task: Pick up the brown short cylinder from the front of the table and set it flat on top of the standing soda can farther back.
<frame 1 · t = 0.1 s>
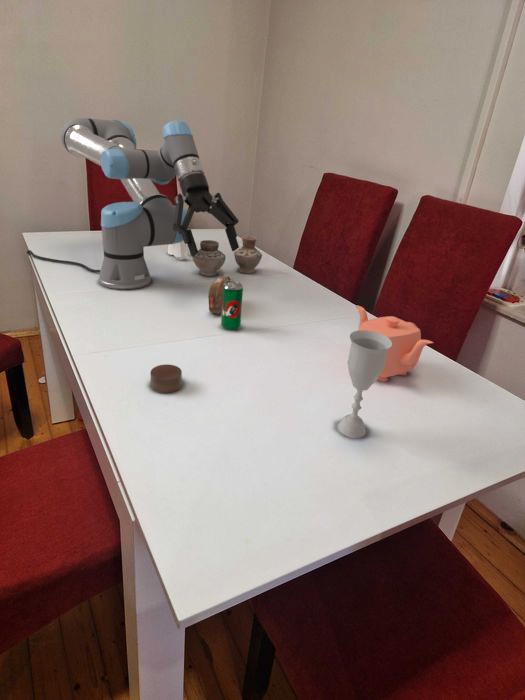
hand: (216, 252, 123), 15 cm above the table, tool tilted 35°, fingers open, 13 cm apart
bread slice: (219, 308, 128), on the table
chalice: (351, 430, 82), on the table
soda can: (230, 327, 117), on the table
brown short cylinder: (166, 384, 90), on the table
shaker set: (177, 257, 170), on the table
pottery: (227, 272, 159), on the table
teapot: (380, 369, 104), on the table
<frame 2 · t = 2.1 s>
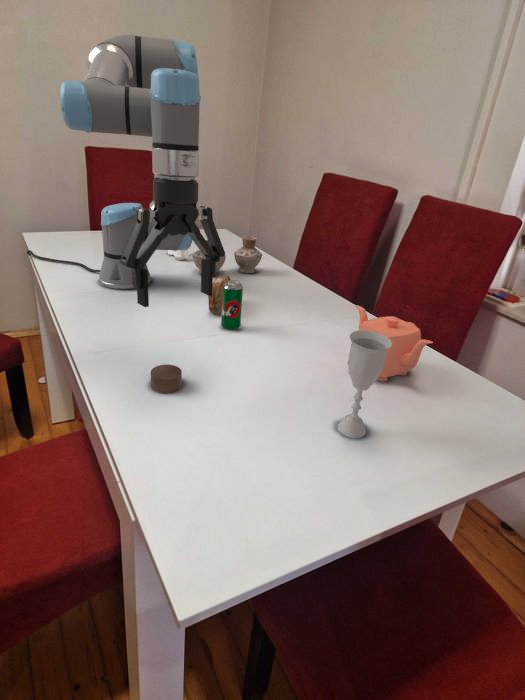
hand: (176, 299, 84), 17 cm above the table, tool pointing down, fingers open, 13 cm apart
nothing on the table moved.
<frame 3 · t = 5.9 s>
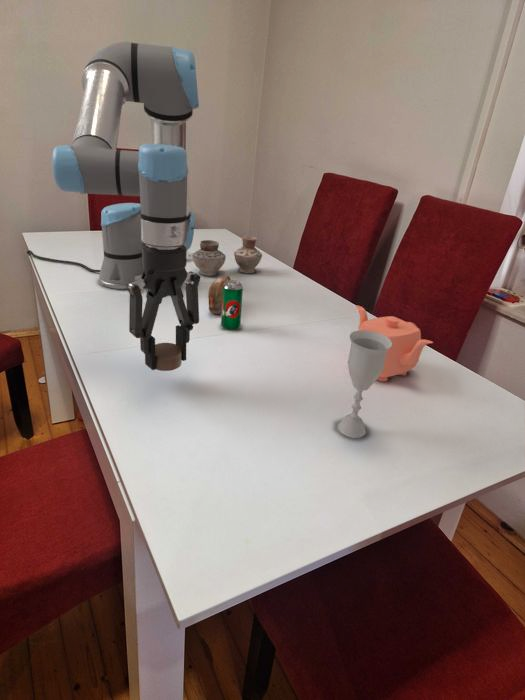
hand: (166, 361, 88), 5 cm above the table, tool pointing down, fingers closed on brown short cylinder, 6 cm apart
brown short cylinder: (165, 363, 88), point 5 cm above the table, touching gripper
everything else where it was.
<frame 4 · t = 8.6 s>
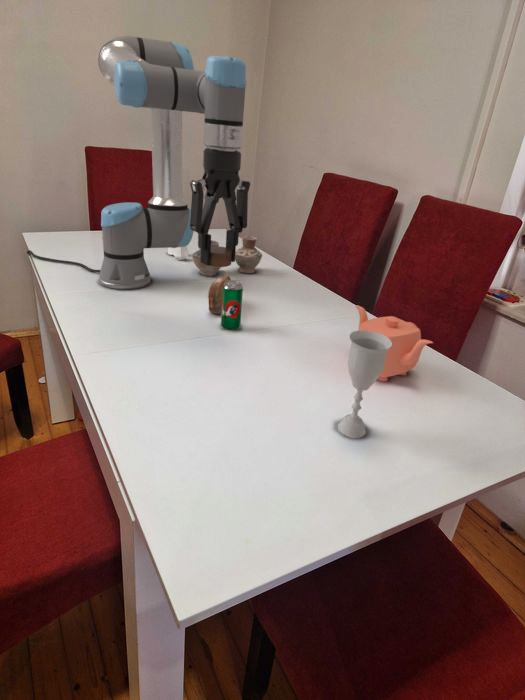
hand: (217, 261, 101), 20 cm above the table, tool pointing down, fingers closed on brown short cylinder, 6 cm apart
brown short cylinder: (217, 263, 101), point 19 cm above the table, touching gripper
everything else where it was.
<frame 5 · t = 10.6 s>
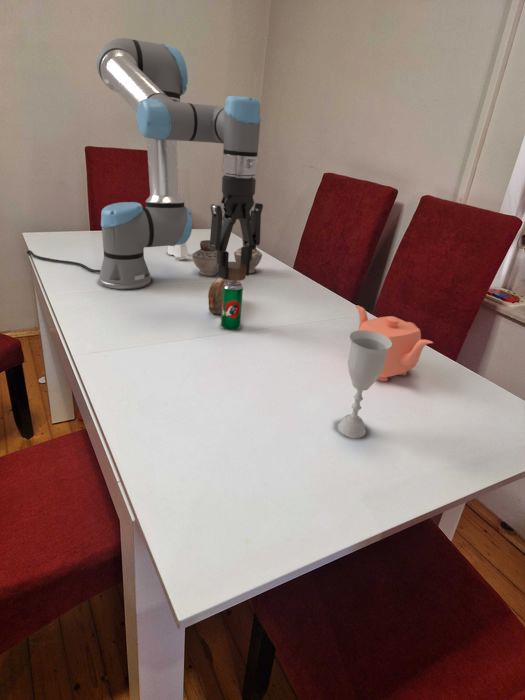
hand: (233, 275, 111), 14 cm above the table, tool pointing down, fingers closed on brown short cylinder, 6 cm apart
brown short cylinder: (233, 276, 111), point 14 cm above the table, touching gripper
everything else where it was.
when the fingers open (12 cm above the table, at t = 11.6 s): brown short cylinder stays where it is, resting on soda can.
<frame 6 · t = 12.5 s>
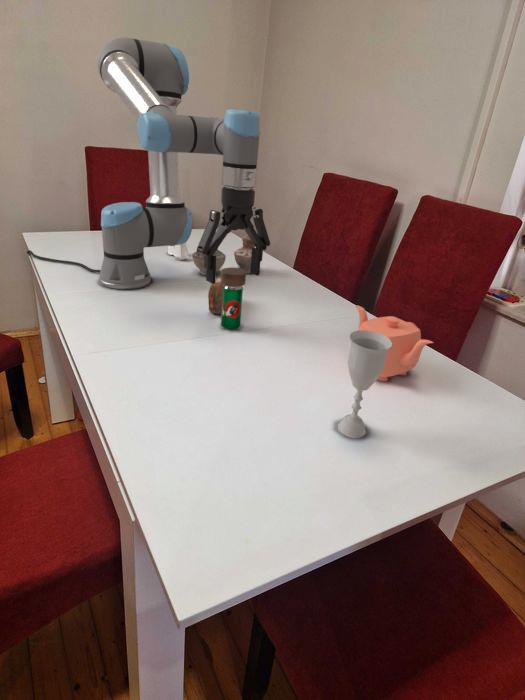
hand: (233, 278, 111), 13 cm above the table, tool pointing down, fingers open, 13 cm apart
soda can: (230, 327, 117), on the table, touching brown short cylinder
brown short cylinder: (233, 282, 112), point 12 cm above the table, touching soda can
everything else where it was.
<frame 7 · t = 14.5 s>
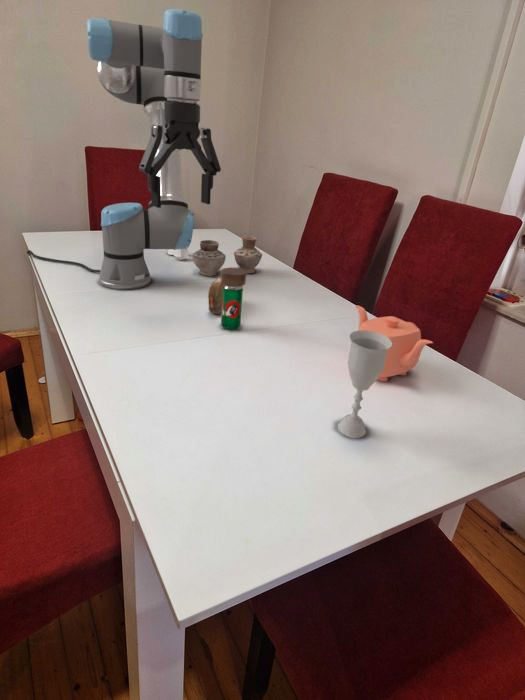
hand: (181, 204, 105), 29 cm above the table, tool pointing down, fingers open, 13 cm apart
nothing on the table moved.
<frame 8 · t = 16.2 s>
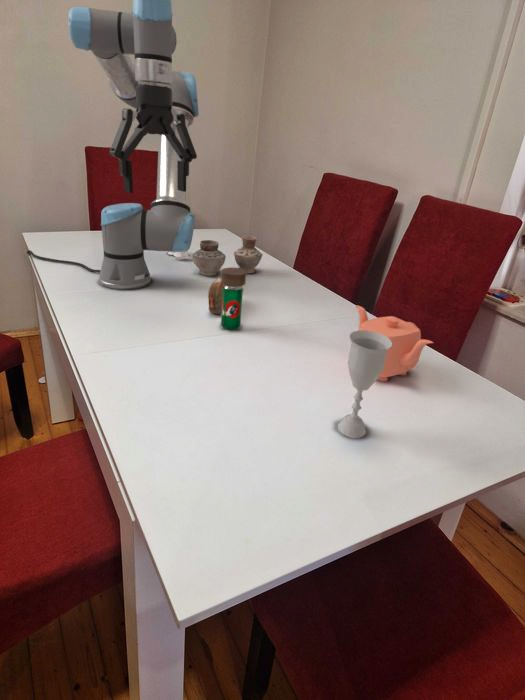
hand: (156, 191, 104), 32 cm above the table, tool pointing down, fingers open, 13 cm apart
nothing on the table moved.
at the end: brown short cylinder 0.1 cm off-centre on the soda can, point 12.2 cm above the soda can's base; brown short cylinder tilted 0°; soda can tilted 0° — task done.
